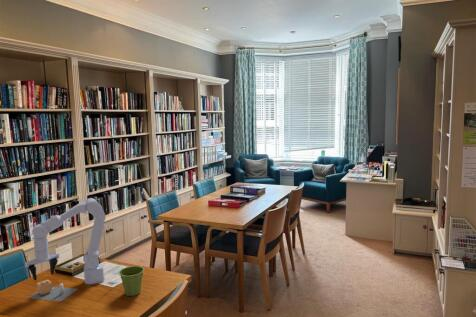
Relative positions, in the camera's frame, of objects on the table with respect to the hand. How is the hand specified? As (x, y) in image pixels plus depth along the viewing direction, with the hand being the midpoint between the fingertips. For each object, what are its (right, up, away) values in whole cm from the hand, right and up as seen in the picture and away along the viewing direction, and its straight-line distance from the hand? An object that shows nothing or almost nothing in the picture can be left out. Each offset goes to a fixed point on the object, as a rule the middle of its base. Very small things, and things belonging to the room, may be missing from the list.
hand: (43, 276), depth 167 cm
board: (+5, -9, 0) cm, 10 cm away
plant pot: (+42, -9, +2) cm, 43 cm away
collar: (0, -7, +1) cm, 7 cm away
